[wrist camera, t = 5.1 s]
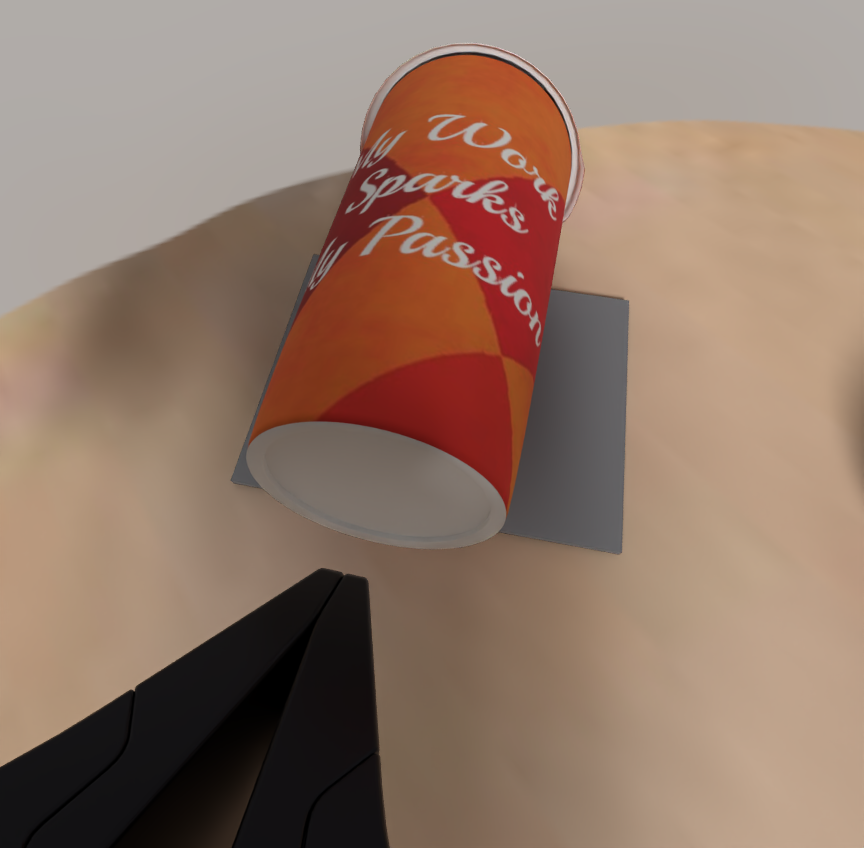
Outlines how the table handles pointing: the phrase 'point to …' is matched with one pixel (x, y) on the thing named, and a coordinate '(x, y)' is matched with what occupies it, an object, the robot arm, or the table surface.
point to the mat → (560, 426)
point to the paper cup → (426, 308)
